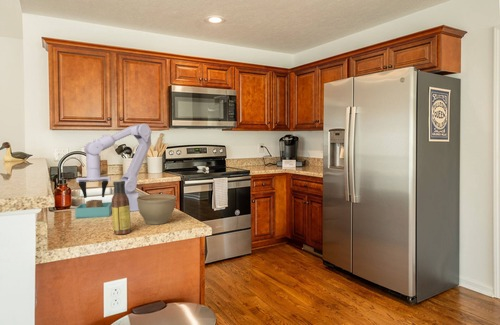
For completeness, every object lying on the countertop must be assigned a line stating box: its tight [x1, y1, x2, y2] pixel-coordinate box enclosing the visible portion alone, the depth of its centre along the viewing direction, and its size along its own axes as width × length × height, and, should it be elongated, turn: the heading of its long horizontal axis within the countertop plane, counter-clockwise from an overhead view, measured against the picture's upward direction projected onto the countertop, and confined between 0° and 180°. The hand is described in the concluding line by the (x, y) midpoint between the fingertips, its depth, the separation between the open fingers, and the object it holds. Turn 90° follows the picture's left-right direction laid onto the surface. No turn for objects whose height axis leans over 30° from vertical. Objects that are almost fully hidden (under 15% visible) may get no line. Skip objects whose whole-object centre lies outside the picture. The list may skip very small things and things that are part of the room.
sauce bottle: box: [111, 179, 132, 236], centre depth 128 cm, size 6×6×20 cm
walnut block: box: [85, 199, 103, 208], centre depth 160 cm, size 5×5×6 cm
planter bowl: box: [137, 193, 177, 225], centre depth 146 cm, size 16×16×11 cm
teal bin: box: [74, 201, 112, 219], centre depth 160 cm, size 14×12×4 cm
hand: (94, 197), depth 160 cm, fingers open, 7 cm apart
